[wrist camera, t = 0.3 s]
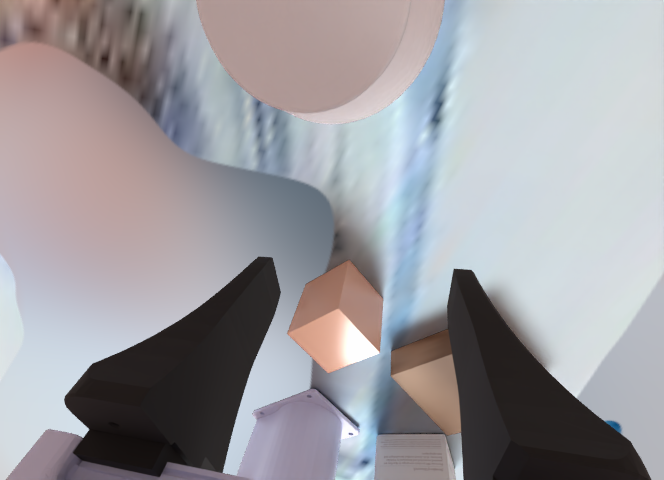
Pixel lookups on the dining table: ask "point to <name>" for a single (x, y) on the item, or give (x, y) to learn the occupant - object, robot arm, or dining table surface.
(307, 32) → the supplement bottle
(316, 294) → the terracotta block
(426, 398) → the walnut box
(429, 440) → the supplement box
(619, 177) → the dining table surface
